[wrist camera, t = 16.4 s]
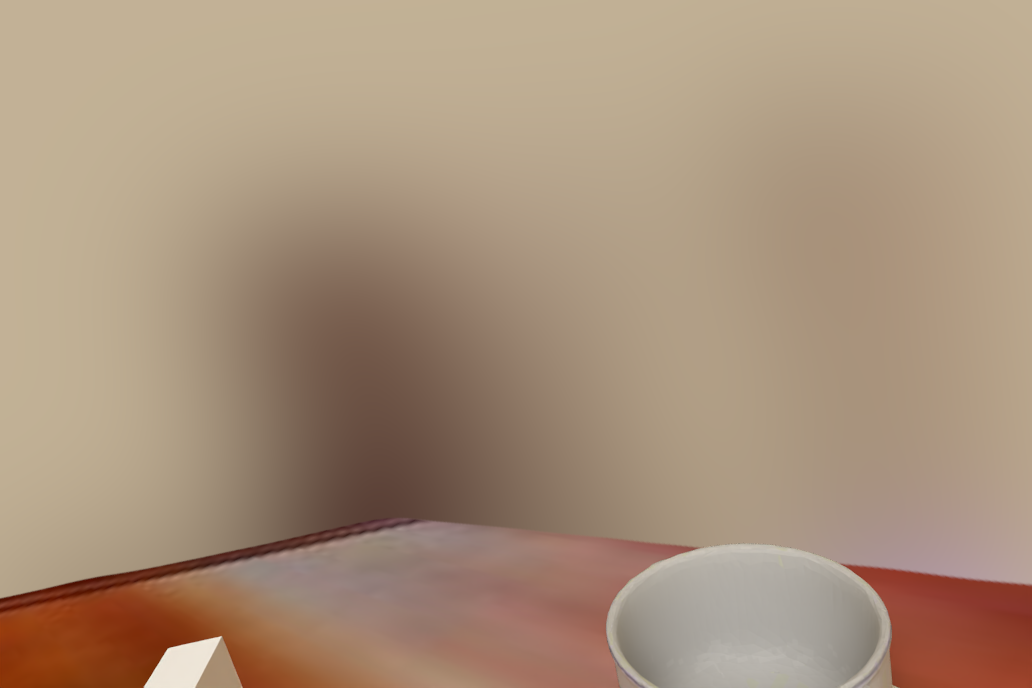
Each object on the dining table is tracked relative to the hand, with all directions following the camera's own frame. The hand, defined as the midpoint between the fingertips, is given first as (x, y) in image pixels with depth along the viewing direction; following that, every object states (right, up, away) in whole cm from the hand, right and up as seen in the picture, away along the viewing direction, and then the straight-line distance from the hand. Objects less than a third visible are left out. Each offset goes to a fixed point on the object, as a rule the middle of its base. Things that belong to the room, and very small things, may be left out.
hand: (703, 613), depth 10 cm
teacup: (+9, -15, +19) cm, 26 cm away
